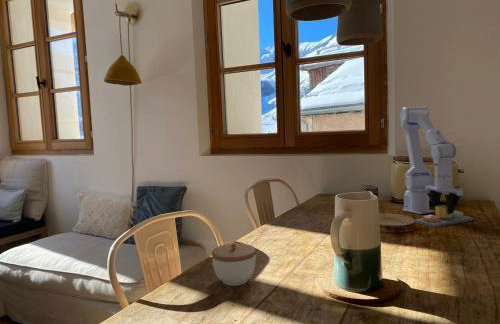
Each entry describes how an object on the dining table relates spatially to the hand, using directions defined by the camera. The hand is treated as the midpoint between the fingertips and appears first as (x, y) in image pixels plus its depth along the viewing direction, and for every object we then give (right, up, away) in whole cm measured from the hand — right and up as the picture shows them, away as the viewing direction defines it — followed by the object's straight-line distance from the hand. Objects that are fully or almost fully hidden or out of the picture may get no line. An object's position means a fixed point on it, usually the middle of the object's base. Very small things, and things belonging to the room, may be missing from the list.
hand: (443, 212), depth 138 cm
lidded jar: (-76, -11, -47) cm, 90 cm away
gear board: (0, -3, 0) cm, 3 cm away
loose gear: (0, -1, 0) cm, 1 cm away
